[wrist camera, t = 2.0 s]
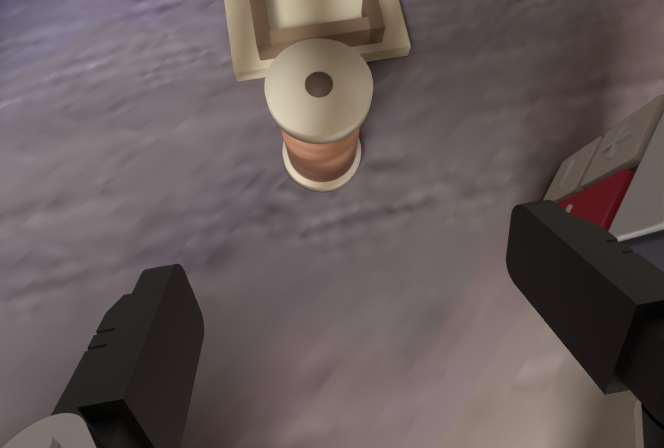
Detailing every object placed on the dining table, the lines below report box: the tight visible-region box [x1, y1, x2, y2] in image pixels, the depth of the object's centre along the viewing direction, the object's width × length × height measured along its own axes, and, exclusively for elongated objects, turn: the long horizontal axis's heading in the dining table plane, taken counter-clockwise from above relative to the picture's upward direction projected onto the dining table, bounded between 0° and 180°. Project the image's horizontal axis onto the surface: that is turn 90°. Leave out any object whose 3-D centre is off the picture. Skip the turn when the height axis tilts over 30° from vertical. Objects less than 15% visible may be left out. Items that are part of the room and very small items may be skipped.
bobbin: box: [265, 38, 373, 192], centre depth 27 cm, size 6×6×10 cm
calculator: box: [543, 94, 664, 272], centre depth 24 cm, size 11×4×15 cm, turn 148°
